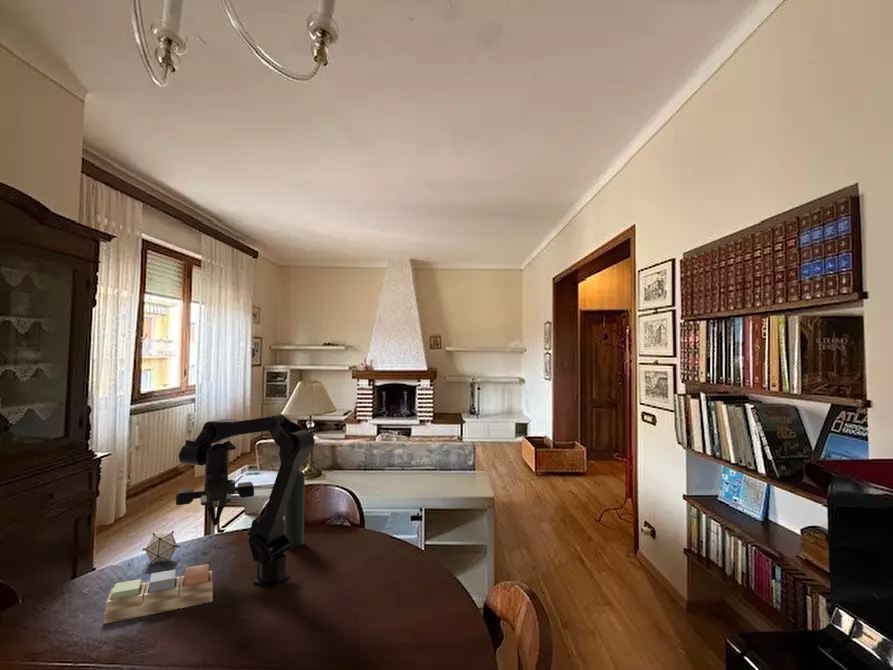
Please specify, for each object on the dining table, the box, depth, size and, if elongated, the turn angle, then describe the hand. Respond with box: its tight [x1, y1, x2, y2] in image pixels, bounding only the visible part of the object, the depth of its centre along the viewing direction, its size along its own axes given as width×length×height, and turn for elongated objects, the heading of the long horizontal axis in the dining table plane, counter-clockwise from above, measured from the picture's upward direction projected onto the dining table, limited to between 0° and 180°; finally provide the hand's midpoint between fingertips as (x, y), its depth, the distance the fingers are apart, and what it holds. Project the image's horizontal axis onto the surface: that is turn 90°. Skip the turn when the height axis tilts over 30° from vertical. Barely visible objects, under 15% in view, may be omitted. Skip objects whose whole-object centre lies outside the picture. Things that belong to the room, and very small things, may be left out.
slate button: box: [148, 569, 177, 593], centre depth 111 cm, size 5×5×3 cm
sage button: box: [112, 578, 142, 600], centre depth 108 cm, size 5×5×3 cm
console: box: [103, 570, 214, 625], centre depth 111 cm, size 21×9×4 cm, turn 117°
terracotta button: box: [184, 563, 210, 586], centre depth 114 cm, size 5×5×3 cm
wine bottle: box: [283, 469, 306, 549], centre depth 147 cm, size 6×6×30 cm
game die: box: [141, 530, 181, 566], centre depth 133 cm, size 9×8×10 cm
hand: (215, 525), depth 128 cm, fingers closed
